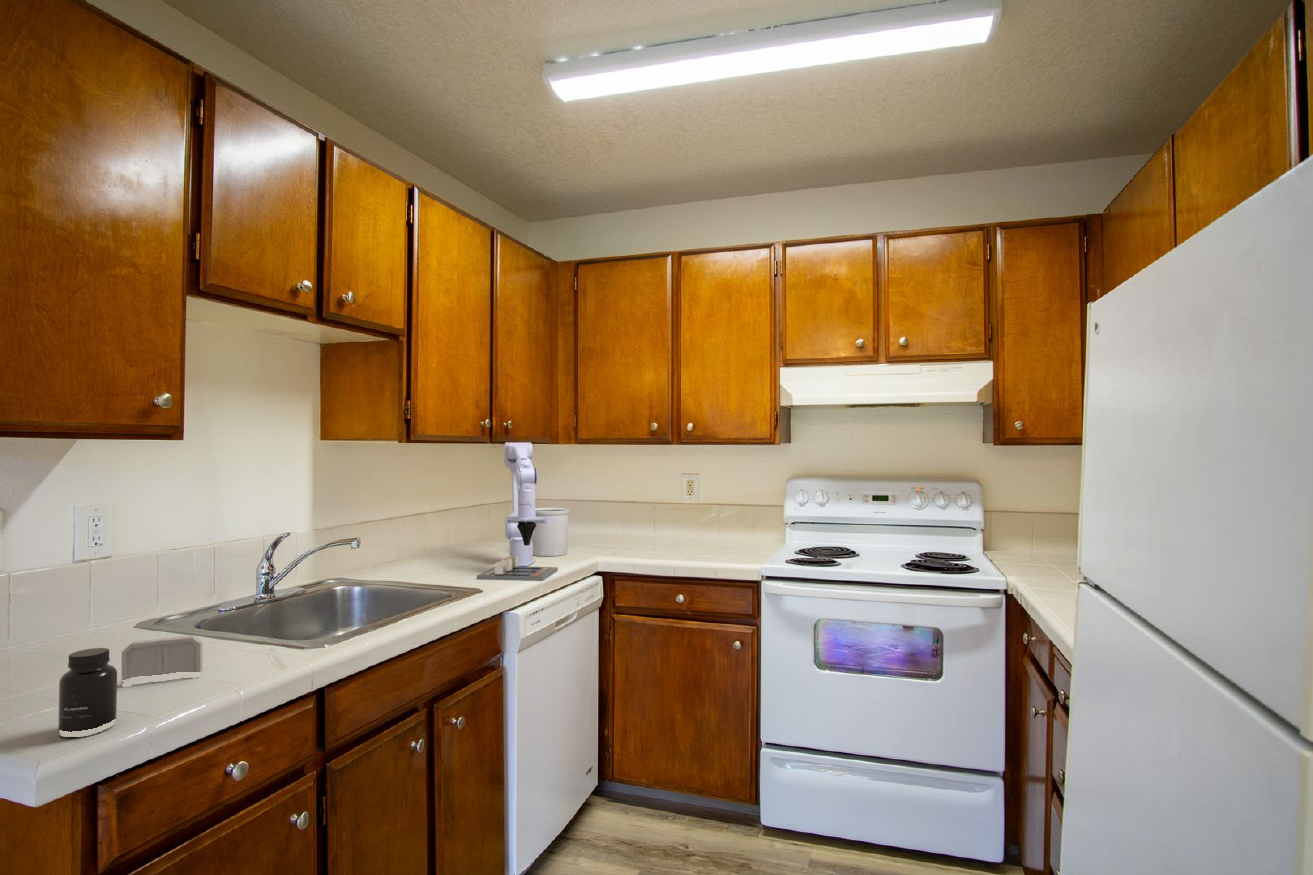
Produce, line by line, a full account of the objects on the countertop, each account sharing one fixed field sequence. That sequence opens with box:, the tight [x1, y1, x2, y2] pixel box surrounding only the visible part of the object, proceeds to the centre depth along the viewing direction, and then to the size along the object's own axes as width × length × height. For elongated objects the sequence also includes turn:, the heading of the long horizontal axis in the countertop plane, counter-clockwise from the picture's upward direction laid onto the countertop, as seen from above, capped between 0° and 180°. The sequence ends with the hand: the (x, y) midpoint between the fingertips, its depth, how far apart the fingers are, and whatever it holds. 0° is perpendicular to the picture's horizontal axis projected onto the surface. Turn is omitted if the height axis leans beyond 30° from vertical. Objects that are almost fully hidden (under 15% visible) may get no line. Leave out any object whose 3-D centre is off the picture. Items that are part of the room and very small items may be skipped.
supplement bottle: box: [58, 647, 118, 732], centre depth 102 cm, size 7×7×12 cm
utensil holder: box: [531, 507, 570, 557], centre depth 259 cm, size 15×15×18 cm
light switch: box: [121, 634, 203, 681], centre depth 123 cm, size 2×12×8 cm, turn 114°
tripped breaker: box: [500, 557, 512, 571], centre depth 219 cm, size 3×3×4 cm
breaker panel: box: [476, 555, 559, 582], centre depth 218 cm, size 16×22×5 cm
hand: (527, 545), depth 218 cm, fingers closed
